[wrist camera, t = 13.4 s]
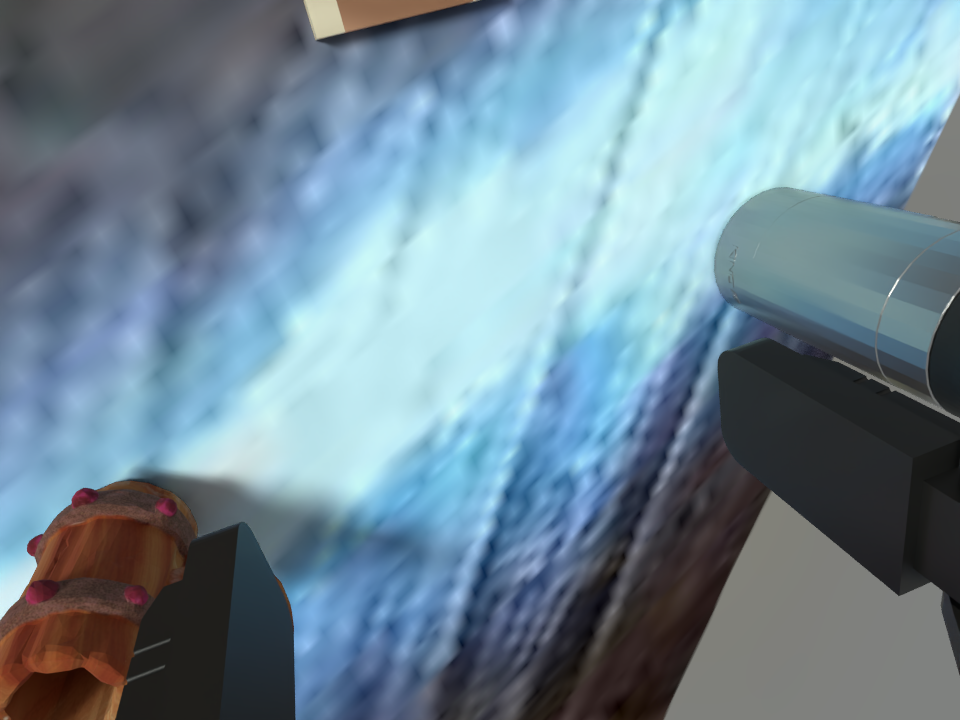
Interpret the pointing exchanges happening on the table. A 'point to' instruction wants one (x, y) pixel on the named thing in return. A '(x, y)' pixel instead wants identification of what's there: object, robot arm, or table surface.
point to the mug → (91, 601)
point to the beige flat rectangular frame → (367, 13)
